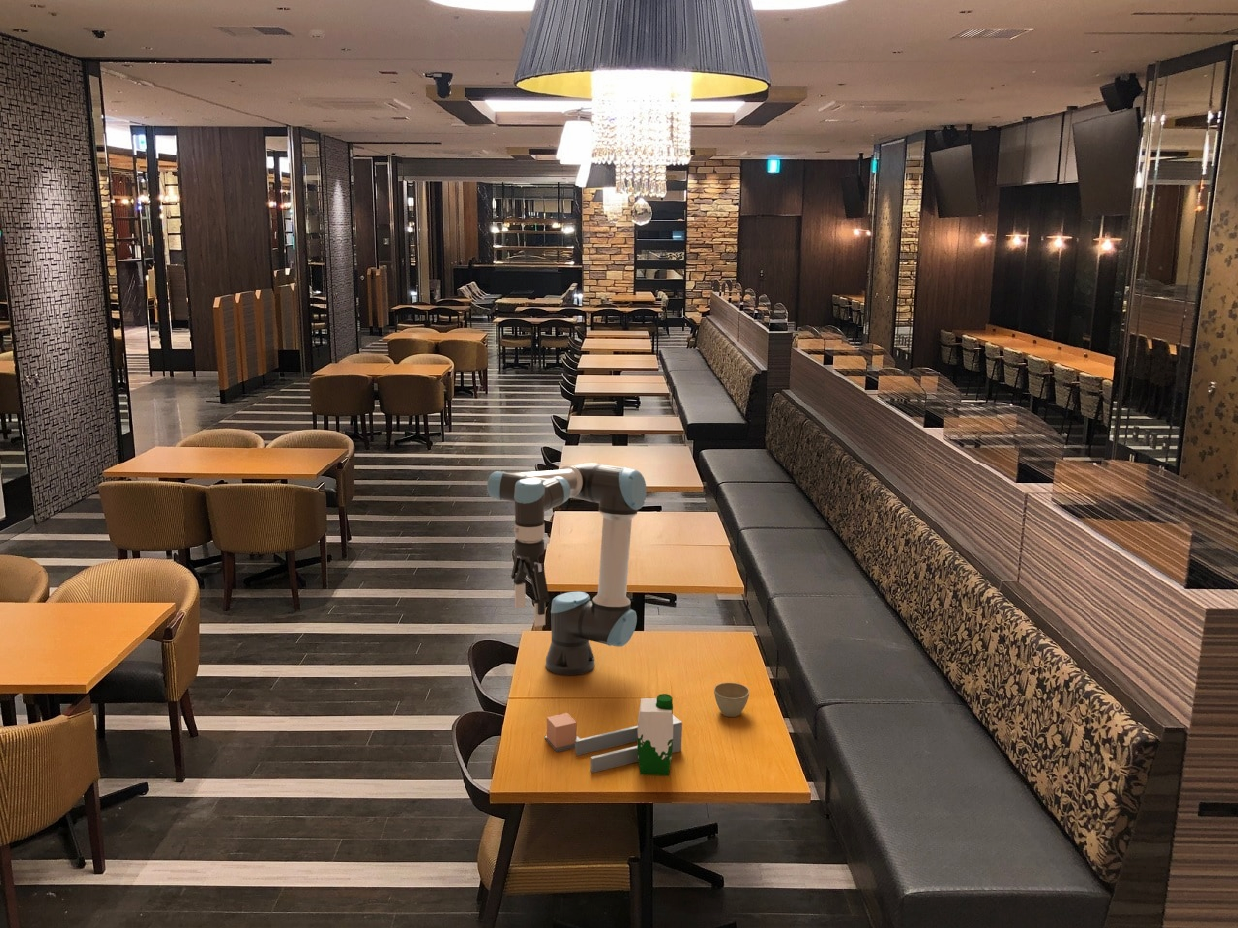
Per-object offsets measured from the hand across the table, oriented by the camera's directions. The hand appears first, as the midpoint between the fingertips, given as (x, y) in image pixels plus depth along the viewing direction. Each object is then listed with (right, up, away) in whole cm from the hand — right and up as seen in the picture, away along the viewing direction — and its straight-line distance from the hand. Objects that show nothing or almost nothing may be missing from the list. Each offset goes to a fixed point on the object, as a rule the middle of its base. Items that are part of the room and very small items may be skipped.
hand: (529, 615), depth 274 cm
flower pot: (+55, -31, +23) cm, 67 cm away
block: (+8, -34, +5) cm, 35 cm away
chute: (+26, -36, +1) cm, 44 cm away
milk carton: (+33, -38, -6) cm, 51 cm away
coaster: (+9, -35, +5) cm, 36 cm away
